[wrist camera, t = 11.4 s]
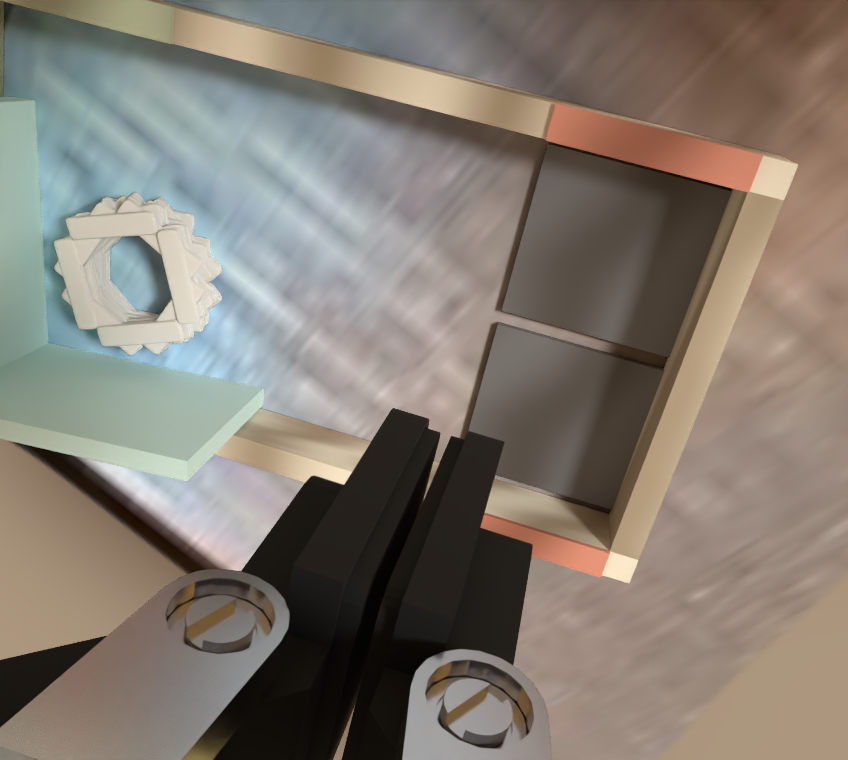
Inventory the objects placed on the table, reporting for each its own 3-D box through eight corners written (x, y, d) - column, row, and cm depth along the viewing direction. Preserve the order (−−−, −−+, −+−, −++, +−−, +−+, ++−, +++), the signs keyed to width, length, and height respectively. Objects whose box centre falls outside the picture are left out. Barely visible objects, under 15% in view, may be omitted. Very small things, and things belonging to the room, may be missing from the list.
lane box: (780, 154, 29) (813, 171, 25) (626, 544, 36) (630, 613, 32) (-23, -47, 32) (-125, -65, 28) (-22, 345, 39) (-103, 382, 35)
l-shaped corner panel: (262, 405, 37) (186, 481, 31) (29, 355, 39) (-92, 417, 32) (277, 139, 33) (191, 159, 26) (12, 96, 34) (-134, 104, 28)
